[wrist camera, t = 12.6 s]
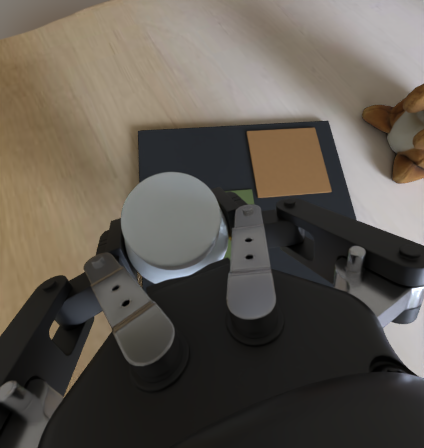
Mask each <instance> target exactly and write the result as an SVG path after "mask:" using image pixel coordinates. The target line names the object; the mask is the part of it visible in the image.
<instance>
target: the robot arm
mask: <svg viewBox="0 0 424 448" xmlns="http://www.w3.org/2000/svg"><path fill="white" fill-rule="evenodd" d="M211 191H212V192H213V194H214V195H215V197H216V199H217V202H218V204H219V207H220V208H221V210H222V212H223V214H224V216H225V218H226V221H227V225H228V232H229V239H230V241H231V258H230V259H229V258H228V257H227V258H225V259H222V260H219V261H216V262H214V263H211V264H208V265H207V266H205V267H203V268H202V269H200V270H198V271H196V272H195V273H193V274H191V275H189V276H184V277H179V278H173V279H168V280H165V281H162V282H159V283H157V284H154V285H151V286H148V287H146V290H147V294H146V292H145V291H144V290H143V289H142V288H141V286H140V285H139V284H138V283H137V270H136V269H135V268H134V266H133V265H132V263H131V262H130V260H129V258H128V255H127V252H126V248H125V242H124V236H123V233H122V229H121V218H119V219H116V220H113V221H111V223H110V228H109V230H108V231H105V232H104V233H103V234H102V235H101V237H100V240H99V244H98V248H97V252H96V256H94V257H92V258H91V259H89V260H88V261H87V262H86V263H85V265H84V271H85V272H84V273H83V274H81V275H79V276H77V277H75V278H74V279H72V280H70V281H68V279H67V278H66V277H65V276H63V275H60V276H55V277H52V278H50V279H48V280H46V281H45V282H43V283H42V284H41V285H40V286H38V287H37V289H36V290H35V291H34V292H33V294H32V295H31V296H30V298H29V299H28V300H27V302H26V303H25V304H24V306H23V307H22V308H21V310H20V311H19V312H18V314H17V315H16V316H15V318H14V319H13V320H12V322H11V323H10V324H9V326H8V327H7V328H6V330H5V331H4V332H3V334H2V335H1V336H0V448H424V378H422V377H419V376H417V375H416V374H415V373H413V372H412V371H411V370H409V369H408V368H407V367H406V366H405V365H404V364H403V362H402V361H401V360H400V359H399V357H398V356H397V354H396V353H395V352H394V350H393V349H392V347H391V345H390V344H389V342H388V340H387V338H386V336H385V333H384V331H383V328H384V327H385V326H386V325H388V324H389V323H390V322H394V323H398V324H408V323H411V322H413V321H415V320H416V318H417V315H418V313H419V310H420V307H421V304H422V302H423V299H424V246H423V245H420V244H418V243H415V242H413V241H410V240H407V239H405V238H402V237H399V236H397V235H394V234H391V233H389V232H386V231H383V230H381V229H378V228H375V227H373V226H370V225H367V224H365V223H362V222H359V221H357V220H354V219H351V218H349V217H346V216H344V215H341V214H338V213H336V212H333V211H330V210H328V209H325V208H322V207H320V206H317V205H314V204H312V203H309V202H306V201H304V200H301V199H298V198H285V199H282V200H280V201H278V202H277V204H276V209H274V210H267V211H261V208H260V207H259V206H258V205H254V204H247V203H246V202H245V201H244V200H243V199H242V198H241V197H239V196H238V195H237V194H236V193H234V192H231V191H228V192H225V191H224V190H223V189H222V188H221V187H217V188H214V189H211ZM304 230H306V231H308V232H309V233H310V234H311V235H312V236H313V239H314V240H312V239H310V238H308V237H306V236H304ZM276 247H280V249H281V250H282V251H283V252H285V253H286V254H288V255H289V256H291V257H292V258H294V259H295V260H297V261H298V262H300V263H302V264H303V265H305V266H306V267H308V268H309V269H311V270H312V271H314V272H315V273H317V274H318V275H320V276H321V277H323V278H324V279H326V280H327V281H329V282H330V283H332V284H333V287H334V288H333V287H330V286H327V285H324V284H320V283H317V282H314V281H310V280H307V279H304V278H301V277H297V276H294V275H291V274H288V273H285V272H281V271H278V270H275V269H272V268H271V266H270V259H269V253H268V248H276ZM101 311H103V312H104V314H105V316H106V318H107V320H108V322H109V324H110V326H111V328H112V332H111V334H110V335H109V336H108V338H107V339H106V340H105V342H104V343H103V345H102V346H101V347H100V349H99V350H98V352H97V353H96V354H95V356H94V357H93V359H92V360H91V361H90V363H89V364H88V365H87V367H86V368H85V370H84V371H83V372H82V374H81V375H80V377H79V378H78V379H77V381H76V382H75V383H74V385H73V386H72V388H71V389H70V390H69V392H68V393H67V395H66V396H65V397H64V394H65V392H66V389H67V387H68V384H69V382H70V379H71V377H72V374H73V372H74V369H75V367H76V364H77V362H78V359H79V357H80V354H81V352H82V349H83V347H84V344H85V342H86V339H87V337H88V334H89V332H90V329H91V327H92V324H93V322H94V316H95V315H97V314H98V313H100V312H101ZM54 320H55V321H56V322H57V323H58V324H59V325H60V326H59V328H58V330H57V331H56V333H55V335H54V337H53V339H52V340H51V338H50V336H49V329H50V327H51V325H52V323H53V321H54ZM63 397H64V398H63Z"/></svg>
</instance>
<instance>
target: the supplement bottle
mask: <svg viewBox="0 0 424 448" xmlns="http://www.w3.org/2000/svg"><path fill="white" fill-rule="evenodd" d="M121 229H122V233H123V236H124V242H125V248H126V252H127V255H128V258H129V260H130V262H131V263H132V265H133V266H134V268H135V269H136V270H137V271H138V272H139V273H140V274H141V275H142V276H143V277H144V278H146V279H147V280H149V281H151V282H152V283H155V284H157V283H159V282H162V281H165V280H168V279H173V278H179V277H184V276H189V275H191V274H193V273H195V272H196V271H198V270H200V269H202V268H203V267H205V266H207V265H208V264H211V263H214V262H216V261H219V260H222V259H223V258H224V256H225V253H226V250H227V246H228V239H229V232H228V225H227V221H226V218H225V216H224V214H223V212H222V210H221V208H220V207H219V204H218V202H217V199H216V197H215V195H214V194H213V192H212V191H211V190H210V189H209V187H208V186H207V185H205V184H204V183H203V182H202V181H200V180H199V179H197V178H195V177H193V176H191V175H188V174H184V173H178V172H165V173H159V174H156V175H153V176H151V177H148V178H146V179H145V180H143V181H142V182H140V183H139V184H138V185H137V186H136V187H135V188H134V189H133V190H132V191H131V192H130V194H129V195H128V197H127V198H126V200H125V203H124V205H123V208H122V213H121Z"/></svg>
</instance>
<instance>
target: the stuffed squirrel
mask: <svg viewBox="0 0 424 448" xmlns="http://www.w3.org/2000/svg"><path fill="white" fill-rule="evenodd" d="M362 115H363V119H364V120H365V121H367V122H368V123H369V124H371V125H372V126H374V127H376V128H378V129H379V130H381V131H383V132H386V133H388V136H387V140H388V142H389V145H390V147H391V149H392V150H393V151H394V152H395V153H397V155H396V157H395V160H394V166H393V178H392V179H393V180H394V181H395V182H396V183H408V182H412V181H415V180H419V179H422V178H424V84H422V85H420V86H418V87H417V88H415V89H414V90H413V91H412V92H411V93H409V95H408V96H407V97H406V98H405V99H403V100H402V101H401V102H399V103H398V104H397V105H396V106H395V107H391V106H385V105H373V106H369V107H367V108H365V109H364V111H363V113H362Z"/></svg>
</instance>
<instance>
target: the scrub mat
mask: <svg viewBox="0 0 424 448" xmlns="http://www.w3.org/2000/svg"><path fill="white" fill-rule="evenodd" d="M138 149H139V183H140V182H142V181H143V180H145V179H146V178H148V177H151V176H153V175H156V174H159V173H165V172H178V173H184V174H188V175H191V176H193V177H195V178H197V179H199V180H200V181H202V182H203V183H204V184H205V185H207V186H208V187H209V189H210V190H211V189H214V188H217V187H221V188H222V189H223V190H224V191H225V192H228V191H231V192H234V193H236V194H237V195H238V196H239V197H241V198H242V199H243V200H244V201H245V202H246V203H247V204H254V205H258V206H259V207H260V208H261V211H267V210H274V209H276V204H277V202H278V201H280V200H282V199H285V198H298V199H301V200H304V201H306V202H309V203H312V204H314V205H317V206H320V207H322V208H325V209H328V210H330V211H333V212H336V213H338V214H341V215H344V216H346V217H349V218H351V219H354V220H356V216H355V213H354V209H353V206H352V202H351V199H350V195H349V192H348V188H347V185H346V181H345V178H344V174H343V171H342V167H341V164H340V160H339V157H338V153H337V150H336V146H335V143H334V139H333V136H332V132H331V129H330V125H329V122H328V121H314V122H295V123H276V124H257V125H238V126H219V127H199V128H180V129H161V130H142V131H138ZM304 236H306V237H308V238H310V239H312V240H314V239H313V236H312V235H311V234H310V233H309V232H308V231H306V230H304ZM268 253H269V259H270V266H271V268H272V269H275V270H278V271H281V272H285V273H288V274H291V275H294V276H297V277H301V278H304V279H307V280H310V281H314V282H317V283H320V284H324V285H327V286H330V287H333V284H332V283H330V282H329V281H327V280H326V279H324V278H323V277H321V276H320V275H318V274H317V273H315V272H314V271H312V270H311V269H309V268H308V267H306V266H305V265H303V264H302V263H300V262H298V261H297V260H295V259H294V258H292V257H291V256H289V255H288V254H286V253H285V252H283V251H282V250H281V249H280V247H276V248H268ZM227 257H228V258H229V259H230V258H231V241H230V239H228V246H227V250H226V253H225V256H224V258H223V259H225V258H227ZM154 284H155V283H152V282H151V281H149V280H147V279H146V278H144V277H143V276H142V288H143V290H144V291H145V292H146V294H147V290H146V287H148V286H151V285H154ZM333 288H334V287H333Z"/></svg>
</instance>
